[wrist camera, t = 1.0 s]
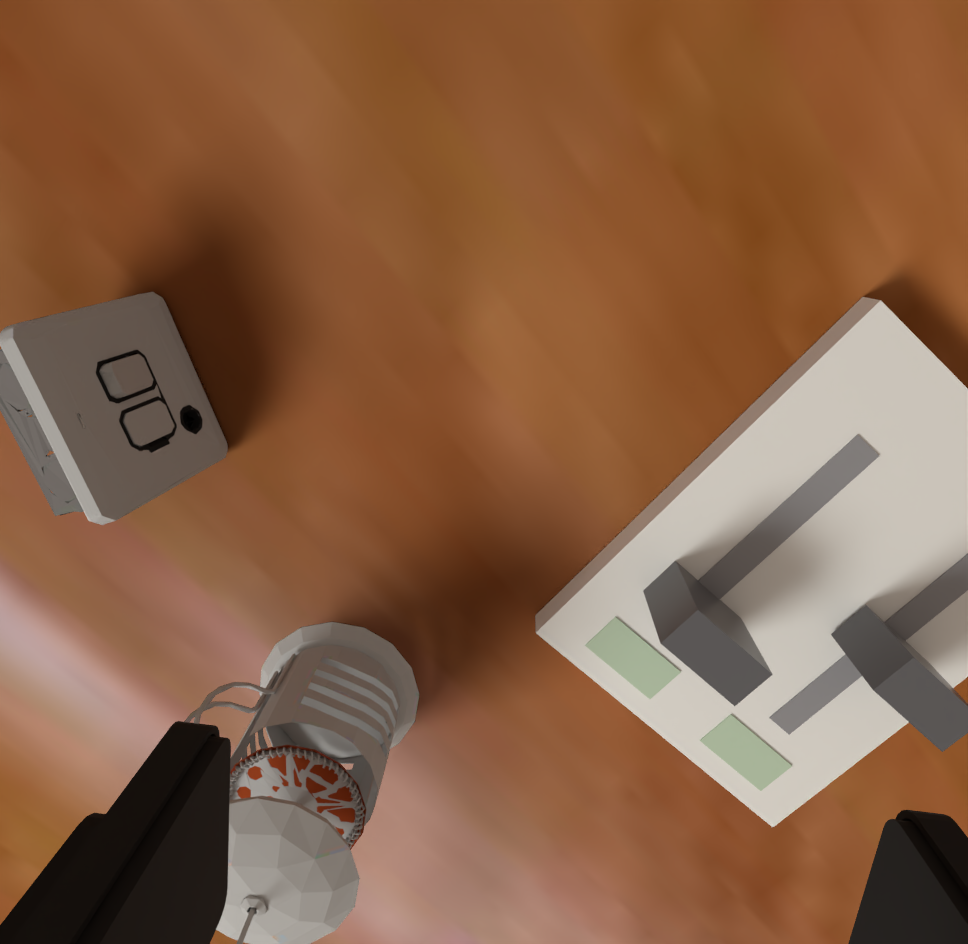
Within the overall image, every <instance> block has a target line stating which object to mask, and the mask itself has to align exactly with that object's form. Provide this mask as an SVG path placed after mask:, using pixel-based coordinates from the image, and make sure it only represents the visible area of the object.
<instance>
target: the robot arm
mask: <svg viewBox="0 0 968 944" xmlns="http://www.w3.org/2000/svg"><path fill="white" fill-rule="evenodd" d="M230 756H231V744H230V740H229V739H228V738H223V737H219V730H218V727H216V726H213V725H205V724H197V723H188V722H180V721H178V722H175V723H174V724H173V725H172V726H171V727H170V729H169V730H168V731H167V733H166V734H165V735H164V737H163V738H162V739H161V741H160V742H159V743H158V745H157V746H156V747H155V749H154V750H153V751H152V753H151V754H150V755H149V757H148V758H147V760H146V761H145V762H144V764H143V765H142V766H141V768H140V769H139V770H138V772H137V773H136V774H135V776H134V777H133V778H132V780H131V781H130V782H129V784H128V785H127V786H126V788H125V789H124V790H123V792H122V793H121V795H120V796H119V797H118V799H117V800H116V801H115V803H114V804H113V805H112V807H111V808H110V809H109V811H108V812H107V813H106V814H99V813H93V814H91V815H89V816H87V817H86V818H85V819H84V820H83V821H82V822H81V823H80V824H79V825H78V826H77V827H76V829H75V830H74V831H73V832H72V834H71V835H70V836H69V838H68V839H67V840H66V841H65V843H64V844H63V845H62V847H61V848H60V849H59V850H58V852H57V853H56V854H55V856H54V857H53V858H52V859H51V861H50V862H49V863H48V865H47V866H46V867H45V868H44V870H43V871H42V872H41V874H40V875H39V876H38V877H37V879H36V880H35V881H34V883H33V884H32V885H31V886H30V888H29V889H28V890H27V892H26V893H25V894H24V895H23V897H22V898H21V899H20V901H19V902H18V903H17V904H16V906H15V907H14V908H13V910H12V911H11V912H10V913H9V915H8V916H7V917H6V919H5V920H4V921H3V922H2V924H1V925H0V944H210V941H211V939H212V937H213V935H214V933H215V930H216V928H217V926H218V924H219V921H220V919H221V916H222V913H223V910H224V907H225V903H226V897H227V889H228V847H229V802H230ZM849 944H968V837H967V836H966V835H965V834H964V832H963V831H962V830H961V828H960V827H959V826H958V825H957V823H956V822H955V821H954V820H953V819H952V818H951V817H949V816H947V815H944V814H937V813H928V812H920V811H912V810H903V811H901V812H900V813H899V814H898V815H897V817H896V819H890V820H888V821H887V822H886V824H885V826H884V828H883V831H882V835H881V838H880V841H879V845H878V848H877V851H876V855H875V858H874V861H873V864H872V868H871V871H870V874H869V878H868V881H867V884H866V888H865V891H864V894H863V897H862V901H861V904H860V907H859V911H858V914H857V917H856V921H855V924H854V927H853V930H852V934H851V937H850V940H849Z"/></svg>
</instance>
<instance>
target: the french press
mask: <svg viewBox="0 0 968 944" xmlns="http://www.w3.org/2000/svg"><path fill="white" fill-rule="evenodd" d="M232 687H243V688H249V689H252V690H255V691H258V692H260V693H259V694H260V699H259V700H258V702H257V704H256V706H255V707H253V708H249V707H245V706H242V705H239V704H235V703H232V702H211V700H212V699H213V698H214V697H215V695H217V694H219V693H221V692H223V691H225V690H227V689H229V688H232ZM418 700H419V692H418V688H417V685H416V681H415V678H414V674H413V671H412V668H411V666H410V665H409V664H408V663H407V661H406V660H405V659H404V658H403V656H402V655H401V654H400V653H399V652H398V650H397V649H396V648H395V647H394V645H393V644H392V643H390V642H388V641H387V640H385V639H383V638H381V637H380V636H378V635H376V634H374V633H373V632H371V631H369V630H367V629H366V628H364V627H358V626H352V625H347V624H341V623H336V622H328V623H323V624H317V625H312V626H307V627H301V628H299V629H298V630H296V631H295V632H293V633H292V634H290V635H289V636H287V637H286V638H284V639H283V640H281V641H279V642H278V643H276V645H275V647H274V648H273V650H272V651H271V653H270V655H269V656H268V658H267V659H266V661H265V663H264V664H263V666H262V671H261V682H260V686H257V685H254V684H251V683H244V682H233V683H229V684H226V685H223V686H220V687H218V688H217V689H215V690H214V691H213V692H211V693H210V694H208V695H207V697H206V698H205V700H204V701H203V703H202V704H201V706H200V707H199V708H198V709H196V710H195V711H194V712H192V713H191V714H190V715H189V716H188V718H187V719H186V720H185V721H184V722H188V723H189V722H190V721H191V719H192V718H193V717H195V719H194V723H197V724H199V722H200V717H201V714H202V712H203V711H205V710H207V709H210V708H212V707H214V706H221V707H231V708H234V709H237V710H240V711H243V712H246V713H254V712H256V711H257V712H256V713H255V715H254V717H253V719H252V721H251V722H250V724H249V726H248V728H247V730H246V731H245V733H244V735H243V737H242V739H241V741H240V742H239V744H238V746H237V748H236V750H235V751H234V753H233V755H232V757H231V759H230V802H229V847H228V889H227V897H226V903H225V907H224V910H223V913H222V916H221V919H220V921H219V924H218V926H217V928H216V930H218V931H220V932H221V933H223V934H225V935H226V936H228V937H230V938H233V939H235V940H238V941H237V944H242V943H243V942H245V943H250V944H310V943H312V942H314V941H316V940H318V939H320V938H322V937H323V936H325V935H327V934H329V933H331V932H333V931H335V930H336V929H337V928H338V927H339V926H340V924H341V923H342V922H343V920H344V919H345V918H346V917H347V915H348V914H349V913H350V912H351V910H352V909H353V908H354V907H355V902H356V896H357V890H358V884H359V879H360V878H359V875H358V872H357V869H356V866H355V863H354V860H353V856H352V853H351V848H352V847H353V846H354V844H355V843H356V842H357V840H358V839H359V837H360V836H361V835H362V833H363V830H364V826H365V824H366V823H367V822H368V821H369V820H370V817H371V815H372V812H373V809H374V807H375V803H376V799H377V796H378V792H379V789H380V785H381V782H382V778H383V774H384V770H385V766H386V763H387V759H388V755H389V751H390V748H392V747H394V746H395V745H397V744H399V743H400V741H401V740H402V739H403V737H404V736H405V734H406V733H407V732H408V730H409V729H410V727H411V726H412V725H413V723H414V722H415V718H416V712H417V706H418ZM210 702H211V703H210ZM264 727H266V731H267V734H268V736H269V739H270V741H271V744H272V746H273V747H270V748H268V747H267V744H266V742H265V739H264V737H263V728H264ZM257 731H258V737H259V745H260V747H261V749H260V750H257V751H256V746H255V733H256V732H257ZM249 743H250V748H251V755H249V756H248V757H247V746H248V744H249ZM241 757H242V760H241V761H240V759H241ZM353 763H354V765H353V768H352V770H346V769H345V768H344V767H343V766H342V765H341V764H353Z"/></svg>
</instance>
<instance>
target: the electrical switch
mask: <svg viewBox="0 0 968 944" xmlns="http://www.w3.org/2000/svg"><path fill="white" fill-rule="evenodd" d="M0 346H1V348H2V349H1V350H0V411H1V412H2V414H3V416H4V418H5V420H6V422H7V424H8V426H9V428H10V430H11V432H12V434H13V435H14V437H15V439H16V441H17V443H18V445H19V447H20V449H21V451H22V453H23V455H24V457H25V459H26V460H27V462H28V464H29V466H30V468H31V470H32V472H33V474H34V476H35V478H36V480H37V482H38V484H39V485H40V487H41V489H42V491H43V493H44V495H45V497H46V499H47V501H48V503H49V505H50V507H51V508H52V510H53V512H54V514H55V516H56V515H59V516H60V515H63V514H67V513H70V512H74V511H75V512H84V513H85V515H86V517H87V519H88V521H91V522H94V523H97V524H101V525H104V524H106V523H109V522H113V521H116V520H118V519H119V518H121V517H123V516H125V515H126V514H128V513H130V512H132V511H133V510H135V509H137V508H139V507H140V506H142V505H144V504H145V503H147V502H149V501H151V500H152V499H154V498H156V497H158V496H159V495H161V494H163V493H165V492H166V491H168V490H170V489H172V488H173V487H175V486H177V485H178V484H180V483H182V482H184V481H185V480H187V479H189V478H191V477H192V476H194V475H196V474H198V473H199V472H201V471H203V470H205V469H206V468H208V467H210V466H211V465H213V464H215V463H217V462H218V461H220V460H222V459H224V458H225V457H226V454H227V451H228V446H227V442H226V439H225V437H224V435H223V433H222V430H221V428H220V426H219V423H218V421H217V419H216V417H215V414H214V412H213V410H212V407H211V405H210V403H209V401H208V398H207V396H206V394H205V392H204V389H203V387H202V385H201V382H200V380H199V378H198V376H197V373H196V371H195V369H194V366H193V364H192V362H191V360H190V357H189V355H188V353H187V351H186V348H185V346H184V344H183V341H182V339H181V337H180V335H179V332H178V330H177V328H176V326H175V323H174V321H173V319H172V316H171V314H170V312H169V310H168V307H167V305H166V303H165V301H164V300H163V298H162V297H160V296H159V295H157V294H156V293H154V292H149V293H143V294H138V295H134V296H129V297H125V298H121V299H117V300H112V301H108V302H104V303H100V304H96V305H92V306H87V307H83V308H79V309H75V310H71V311H67V312H62V313H58V314H54V315H50V316H46V317H42V318H37V319H33V320H29V321H25V322H21V323H17V324H13V325H10V326H7V327H6V328H4V329H3V330H2V332H1V333H0ZM20 410H23V411H20ZM29 415H32V417H27V416H29ZM49 451H53V452H54V454H51V455H49V456H47V454H48V452H49ZM50 490H51V491H52V492H53V493H54V494H53V493H51V491H50Z"/></svg>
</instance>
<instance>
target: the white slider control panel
mask: <svg viewBox="0 0 968 944" xmlns="http://www.w3.org/2000/svg"><path fill="white" fill-rule="evenodd" d="M865 605H867V606H868V607H869V608H870V609H871V610H872V611H873V612H874V613H876V614H877V615H878V616H879V617H880V618H881V619H882V620H883V621H884V622H885V623H886V624H888V625H889V626H890V627H891V628H892V629H893V630H894V631H895V632H896V633H897V634H898V635H900V636H901V637H902V638H903V639H904V640H905V641H906V642H907V643H908V644H909V645H910V646H912V647H913V648H914V649H915V650H916V651H917V652H918V653H919V654H920V655H921V656H922V657H924V658H925V659H926V660H927V661H928V662H929V663H930V664H931V665H932V666H933V667H934V668H935V670H936V671H937V672H938V673H939V674H940V675H941V676H942V677H943V678H944V679H945V680H946V681H947V682H948V683H949V684H950V685H951V687H952V688H954V687H955V686H956V685H957V684H959V683H960V682H961V681H963V680H964V679H965V678H966V677H968V389H967V388H966V386H965V385H964V384H963V383H962V382H961V381H960V380H959V379H958V378H957V377H956V376H955V375H954V374H953V373H952V372H951V371H950V370H949V369H948V368H947V367H946V366H945V365H944V364H943V363H942V362H941V361H940V360H939V359H938V358H937V357H936V356H935V355H934V354H933V353H932V352H931V351H930V350H929V349H928V348H927V347H926V346H925V345H924V344H923V343H922V342H921V341H920V340H919V339H918V338H917V337H916V336H915V335H914V334H913V333H912V332H911V331H910V330H909V329H908V328H907V326H906V325H905V324H904V323H903V322H902V321H901V320H900V319H899V318H898V317H897V316H896V315H895V314H894V313H893V312H892V311H891V310H890V309H889V308H888V307H887V306H886V305H885V304H884V303H883V302H882V301H881V300H877V299H871V298H866V297H862V298H861V299H860V300H859V301H858V302H857V303H856V304H855V305H854V306H853V307H852V308H851V309H850V310H849V311H848V312H847V313H846V314H845V315H844V316H843V317H841V318H840V319H839V320H838V321H837V322H836V323H835V324H834V325H833V326H832V327H831V328H830V329H829V330H828V331H827V332H826V333H825V334H824V335H823V336H822V337H821V338H820V339H819V340H818V341H817V342H816V343H815V344H814V345H813V346H812V347H811V348H810V349H809V350H808V351H807V352H806V353H804V354H803V355H802V356H801V357H800V358H799V359H798V360H797V361H796V362H795V363H794V364H793V365H792V366H791V367H790V368H789V369H788V370H787V371H786V372H785V373H784V374H783V375H782V376H781V377H780V378H779V379H778V380H777V381H776V382H775V383H774V384H773V385H772V386H771V387H770V388H769V389H767V390H766V391H765V392H764V393H763V394H762V395H761V396H760V397H759V398H758V399H757V400H756V401H755V402H754V403H753V404H752V405H751V406H750V407H749V408H748V409H747V410H746V411H745V412H744V413H743V414H742V415H741V416H740V417H739V418H738V419H737V420H736V421H735V422H734V423H733V424H732V425H730V426H729V427H728V428H727V429H726V430H725V431H724V432H723V433H722V434H721V435H720V436H719V437H718V438H717V439H716V440H715V441H714V442H713V443H712V444H711V445H710V446H709V447H708V448H707V449H706V450H705V451H704V452H703V453H702V454H701V455H700V456H699V457H698V458H697V459H696V460H694V461H693V462H692V463H691V464H690V465H689V466H688V467H687V468H686V469H685V470H684V471H683V472H682V473H681V474H680V475H679V476H678V477H677V478H676V479H675V480H674V481H673V482H672V483H671V484H670V485H669V486H668V487H667V488H666V489H665V490H664V491H663V492H662V493H661V494H660V495H659V496H657V497H656V498H655V499H654V500H653V501H652V502H651V503H650V504H649V505H648V506H647V507H646V508H645V509H644V510H643V511H642V512H641V513H640V514H639V515H638V516H637V517H636V518H635V519H634V520H633V521H632V522H631V523H630V524H629V525H628V526H627V527H626V528H625V529H624V530H623V531H622V532H620V533H619V534H618V535H617V536H616V537H615V538H614V539H613V540H612V541H611V542H610V543H609V544H608V545H607V546H606V547H605V548H604V549H603V550H602V551H601V552H600V553H599V554H598V555H597V556H596V557H595V558H594V559H593V560H592V561H591V562H590V563H589V564H588V565H587V566H586V567H584V568H583V569H582V570H581V571H580V572H579V573H578V574H577V575H576V576H575V577H574V578H573V579H572V580H571V581H570V582H569V583H568V584H567V585H566V586H565V587H564V588H563V589H562V590H561V591H560V592H559V593H558V594H557V595H556V596H555V597H554V598H553V599H552V600H551V601H550V602H549V603H547V604H546V605H545V606H544V607H543V608H542V609H541V610H540V611H539V612H538V613H537V614H536V615H535V627H536V634H538V635H539V636H540V637H541V638H543V639H544V640H545V641H546V642H547V643H549V644H550V645H551V646H552V647H553V648H555V649H556V650H557V651H558V652H560V653H561V654H562V655H563V656H564V657H566V658H567V659H568V660H569V661H571V662H572V663H573V664H574V665H575V666H577V667H578V668H579V669H580V670H582V671H583V672H584V673H585V674H586V675H588V676H589V677H590V678H591V679H593V680H594V681H595V682H596V683H597V684H599V685H600V686H601V687H602V688H603V689H605V690H606V691H607V692H608V693H610V694H611V695H612V696H613V697H614V698H616V699H617V700H618V701H619V702H621V703H622V704H623V705H624V706H625V707H627V708H628V709H629V710H630V711H632V712H633V713H634V714H635V715H636V716H638V717H639V718H640V719H641V720H642V721H644V722H645V723H646V724H647V725H649V726H650V727H651V728H652V729H653V730H655V731H656V732H657V733H658V734H660V735H661V736H662V737H663V738H664V739H666V740H667V741H668V742H669V743H671V744H672V745H673V746H674V747H675V748H677V749H678V750H679V751H680V752H682V753H683V754H684V755H685V756H686V757H688V758H689V759H690V760H691V761H692V762H694V763H695V764H696V765H697V766H699V767H700V768H701V769H702V770H703V771H705V772H706V773H707V774H708V775H710V776H711V777H712V778H713V779H714V780H716V781H717V782H718V783H719V784H721V785H722V786H723V787H724V788H725V789H727V790H728V791H729V792H730V793H732V794H733V795H734V796H735V797H736V798H738V799H739V800H740V801H741V802H742V803H744V804H745V805H746V806H747V807H749V808H750V809H751V810H752V811H753V812H755V813H756V814H757V815H758V816H760V817H761V818H762V819H763V820H764V821H766V822H767V823H768V824H769V825H771V826H772V827H774V826H775V825H777V824H778V823H779V822H781V821H782V820H783V819H784V818H786V817H787V816H788V815H790V814H791V813H792V812H793V811H795V810H796V809H797V808H799V807H800V806H801V805H802V804H804V803H805V802H806V801H808V800H809V799H810V798H812V797H813V796H814V795H815V794H817V793H818V792H819V791H821V790H822V789H823V788H824V787H826V786H827V785H828V784H830V783H831V782H832V781H833V780H835V779H836V778H837V777H839V776H840V775H841V774H843V773H844V772H845V771H846V770H848V769H849V768H850V767H852V766H853V765H854V764H855V763H857V762H858V761H859V760H861V759H862V758H863V757H864V756H866V755H867V754H868V753H870V752H871V751H872V750H874V749H875V748H876V747H877V746H879V745H880V744H881V743H883V742H884V741H885V740H886V739H888V738H889V737H890V736H892V735H893V734H894V733H895V732H897V731H898V730H899V729H901V728H902V727H903V726H905V725H906V724H907V723H908V721H907V720H906V719H905V718H904V717H903V716H902V715H900V714H899V713H898V712H897V711H896V710H895V709H894V708H893V707H891V706H890V705H889V704H888V703H887V702H886V701H885V700H884V699H882V698H881V697H880V696H879V695H878V694H877V693H876V692H875V691H874V690H873V689H872V688H871V687H870V685H869V684H868V683H867V682H866V680H865V679H864V678H863V676H862V675H861V674H860V672H859V671H858V670H857V668H856V667H855V666H854V664H853V663H852V662H851V660H850V659H849V658H848V657H847V655H846V654H845V653H844V651H843V650H842V649H841V647H840V646H839V645H838V643H837V642H836V641H835V639H834V638H833V637H832V635H831V634H832V633H833V632H834V631H835V630H837V629H838V628H839V627H840V626H841V625H843V624H844V623H845V622H846V621H847V620H849V619H850V618H851V617H852V616H853V615H854V614H856V613H857V612H858V611H859V610H860V609H862V608H863V607H864V606H865Z"/></svg>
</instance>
